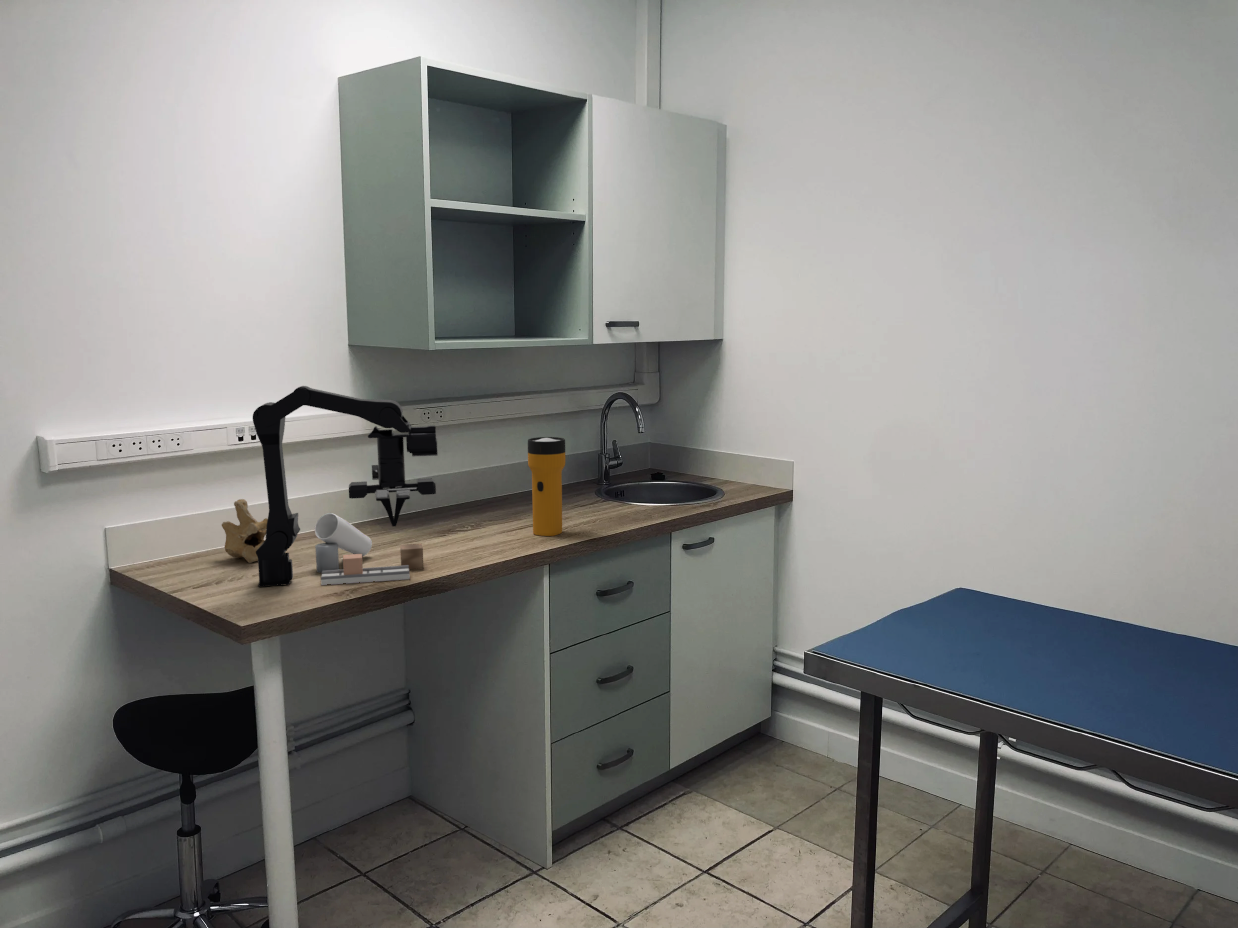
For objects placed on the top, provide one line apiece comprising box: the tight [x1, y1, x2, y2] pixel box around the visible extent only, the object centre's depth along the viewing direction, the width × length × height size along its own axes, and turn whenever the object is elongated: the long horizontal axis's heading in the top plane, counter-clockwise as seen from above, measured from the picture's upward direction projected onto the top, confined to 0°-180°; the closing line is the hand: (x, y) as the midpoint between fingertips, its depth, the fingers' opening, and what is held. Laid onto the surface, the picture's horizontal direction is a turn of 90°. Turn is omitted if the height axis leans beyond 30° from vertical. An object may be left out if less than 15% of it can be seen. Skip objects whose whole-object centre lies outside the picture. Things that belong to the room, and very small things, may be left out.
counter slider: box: [342, 553, 364, 575], centre depth 217 cm, size 4×4×4 cm
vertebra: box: [221, 498, 268, 564], centre depth 234 cm, size 9×14×15 cm, turn 47°
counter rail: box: [320, 565, 411, 586], centre depth 218 cm, size 19×6×2 cm, turn 104°
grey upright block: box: [315, 542, 340, 574], centre depth 225 cm, size 5×5×6 cm
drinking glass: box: [314, 512, 373, 557], centre depth 232 cm, size 7×7×15 cm
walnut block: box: [399, 543, 425, 571], centre depth 228 cm, size 5×5×5 cm
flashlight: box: [527, 436, 566, 537], centre depth 260 cm, size 10×26×10 cm
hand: (394, 526), depth 218 cm, fingers closed
